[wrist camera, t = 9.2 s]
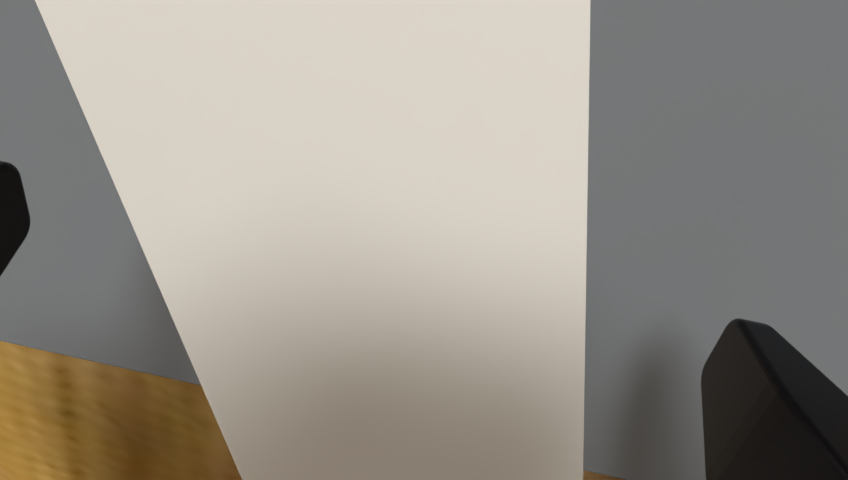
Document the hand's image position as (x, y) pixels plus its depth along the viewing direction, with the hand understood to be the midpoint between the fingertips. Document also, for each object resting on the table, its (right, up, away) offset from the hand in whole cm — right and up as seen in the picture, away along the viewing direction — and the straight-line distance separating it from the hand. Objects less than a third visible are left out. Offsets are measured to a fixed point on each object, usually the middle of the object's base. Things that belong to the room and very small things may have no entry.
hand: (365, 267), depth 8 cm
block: (+1, +2, +3) cm, 3 cm away
